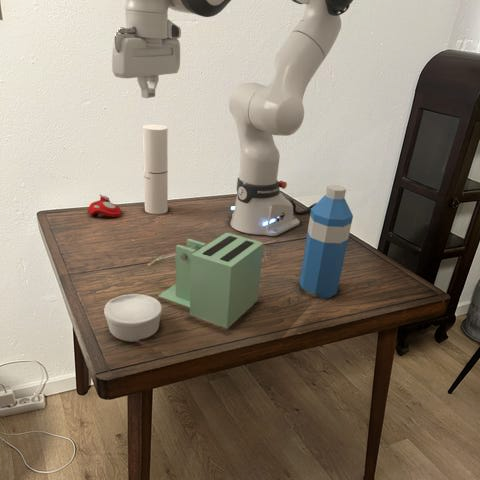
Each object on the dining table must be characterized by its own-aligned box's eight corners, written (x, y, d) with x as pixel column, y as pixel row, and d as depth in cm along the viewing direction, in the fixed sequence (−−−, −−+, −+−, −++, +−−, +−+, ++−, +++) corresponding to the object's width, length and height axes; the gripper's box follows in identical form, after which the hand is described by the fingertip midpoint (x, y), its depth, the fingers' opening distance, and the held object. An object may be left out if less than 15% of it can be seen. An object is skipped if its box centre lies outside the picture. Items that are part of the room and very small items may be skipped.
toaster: (188, 319, 104) (190, 253, 96) (222, 292, 115) (226, 231, 107) (226, 333, 101) (231, 266, 93) (257, 304, 112) (264, 242, 104)
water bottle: (312, 301, 115) (332, 196, 101) (291, 283, 121) (306, 182, 108) (344, 294, 118) (367, 192, 105) (322, 277, 125) (340, 179, 112)
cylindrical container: (163, 215, 153) (162, 131, 139) (141, 212, 154) (138, 127, 140) (170, 207, 159) (170, 126, 145) (149, 204, 160) (147, 123, 146)
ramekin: (143, 309, 106) (142, 288, 103) (173, 333, 99) (173, 311, 96) (95, 325, 99) (93, 303, 97) (123, 352, 93) (122, 329, 90)
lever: (149, 271, 110) (144, 261, 109) (163, 263, 114) (159, 253, 113) (191, 260, 103) (186, 250, 102) (204, 252, 107) (200, 241, 106)
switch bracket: (158, 300, 110) (157, 245, 103) (180, 284, 117) (181, 231, 109) (199, 315, 106) (202, 259, 99) (221, 298, 113) (224, 244, 105)
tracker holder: (128, 211, 150) (99, 210, 142) (124, 224, 152) (95, 223, 145) (108, 191, 155) (79, 189, 148) (104, 204, 158) (76, 202, 150)
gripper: (127, 28, 97) (130, 104, 104) (185, 29, 113) (184, 95, 120) (102, 25, 99) (107, 99, 107) (162, 26, 115) (163, 91, 122)
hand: (148, 97), depth 113 cm, fingers closed
